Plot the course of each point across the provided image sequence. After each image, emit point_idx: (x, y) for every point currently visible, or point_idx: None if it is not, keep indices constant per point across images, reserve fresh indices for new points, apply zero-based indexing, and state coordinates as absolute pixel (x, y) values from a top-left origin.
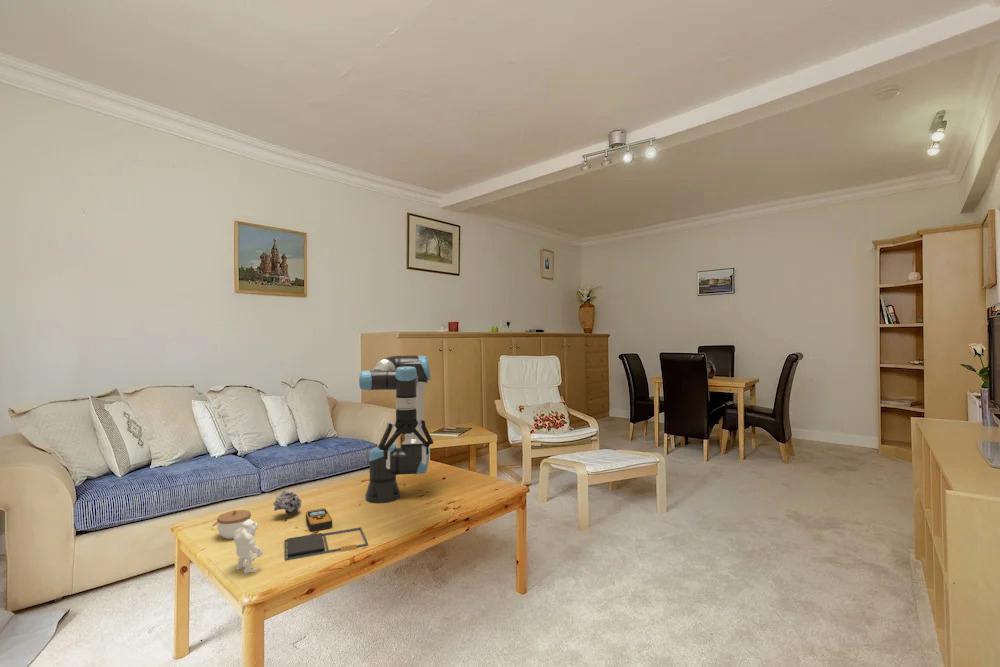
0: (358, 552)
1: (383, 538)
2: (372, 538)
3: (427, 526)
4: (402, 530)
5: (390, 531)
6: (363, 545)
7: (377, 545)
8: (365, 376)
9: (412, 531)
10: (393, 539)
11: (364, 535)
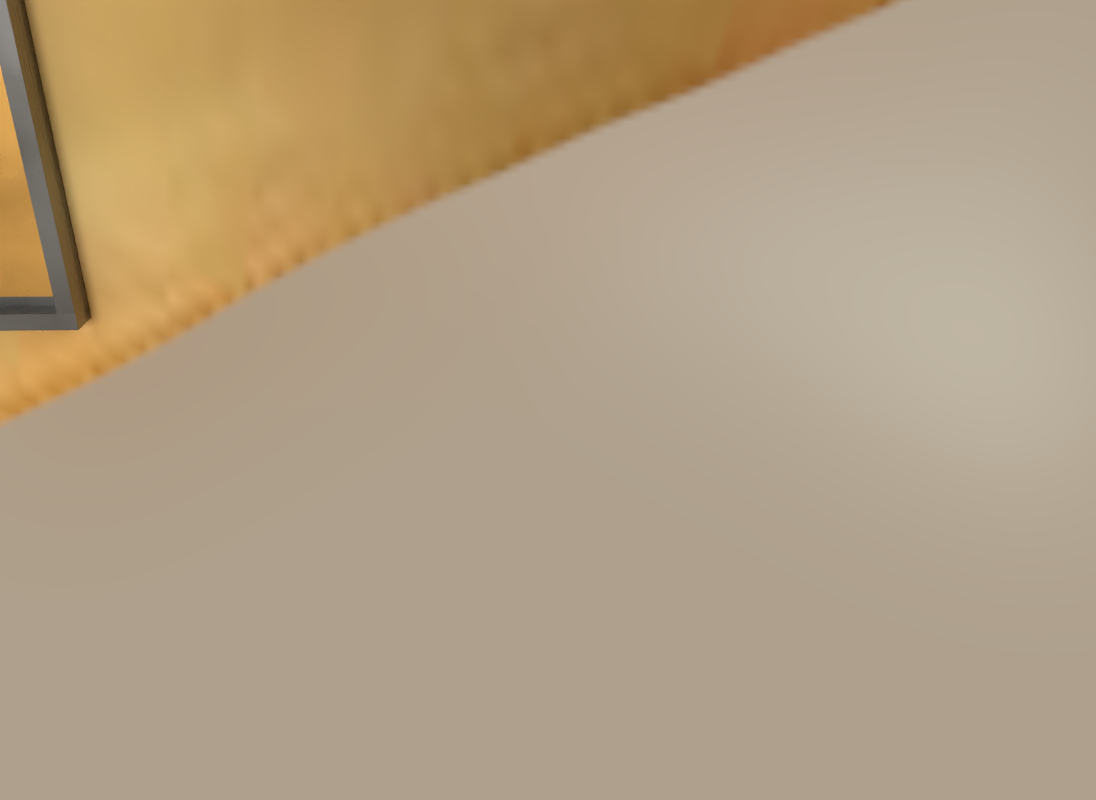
0: (5, 379)
1: (247, 171)
2: (132, 120)
3: (755, 57)
4: (473, 44)
5: (341, 10)
6: (35, 328)
7: (179, 308)
8: None
9: (566, 123)
10: (342, 238)
11: (27, 102)
